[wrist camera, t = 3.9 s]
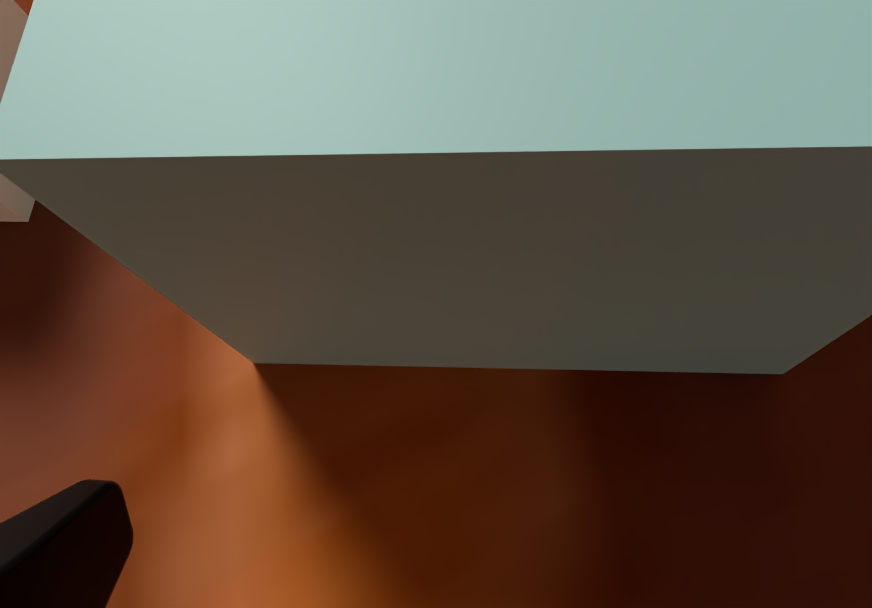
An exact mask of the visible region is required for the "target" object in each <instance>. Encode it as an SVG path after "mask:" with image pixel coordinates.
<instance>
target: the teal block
mask: <svg viewBox="0 0 872 608" xmlns="http://www.w3.org/2000/svg"><path fill="white" fill-rule="evenodd" d="M0 173H1V174H2V175H3V176H5V177H6V178H7V179H9V180H10V181H11V182H13V183H14V184H15V185H17V186H18V187H19V188H21V189H22V190H23V191H25V192H26V193H27V194H29V195H30V196H31V197H33V198H34V199H35V200H37V201H38V202H39V203H41V204H42V205H43V206H45V207H46V208H47V209H49V210H50V211H51V212H53V213H54V214H55V215H57V216H58V217H59V218H61V219H62V220H63V221H65V222H66V223H67V224H69V225H70V226H71V227H73V228H74V229H75V230H77V231H78V232H79V233H81V234H82V235H83V236H85V237H86V238H87V239H89V240H90V241H91V242H93V243H94V244H95V245H97V246H98V247H99V248H101V249H102V250H103V251H105V252H106V253H107V254H109V255H110V256H111V257H113V258H114V259H115V260H117V261H118V262H119V263H121V264H122V265H123V266H125V267H126V268H127V269H129V270H130V271H131V272H133V273H134V274H135V275H137V276H138V277H139V278H141V279H142V280H143V281H145V282H146V283H147V284H149V285H150V286H151V287H153V288H154V289H155V290H157V291H158V292H159V293H161V294H162V295H163V296H165V297H166V298H167V299H169V300H170V301H171V302H173V303H174V304H175V305H177V306H178V307H179V308H181V309H182V310H183V311H185V312H186V313H187V314H189V315H190V316H191V317H193V318H194V319H195V320H197V321H198V322H199V323H201V324H202V325H203V326H205V327H206V328H207V329H209V330H210V331H211V332H213V333H214V334H215V335H217V336H218V337H219V338H221V339H222V340H223V341H225V342H226V343H227V344H229V345H230V346H231V347H233V348H234V349H235V350H237V351H238V352H239V353H241V354H242V355H243V356H245V357H246V358H247V359H249V360H250V361H251V362H253V363H271V364H319V365H366V366H414V367H461V368H508V369H556V370H603V371H651V372H698V373H746V374H784V373H785V372H787V371H788V370H790V369H791V368H793V367H794V366H796V365H797V364H799V363H800V362H802V361H803V360H805V359H806V358H808V357H809V356H811V355H812V354H814V353H815V352H817V351H818V350H820V349H821V348H823V347H824V346H826V345H827V344H829V343H830V342H832V341H833V340H835V339H836V338H838V337H839V336H841V335H842V334H844V333H845V332H847V331H848V330H850V329H851V328H853V327H854V326H856V325H857V324H859V323H860V322H862V321H863V320H865V319H866V318H868V317H869V316H871V315H872V0H34V1H33V4H32V8H31V11H30V14H29V17H28V20H27V23H26V26H25V29H24V32H23V35H22V38H21V41H20V45H19V48H18V51H17V54H16V57H15V60H14V63H13V66H12V69H11V72H10V75H9V79H8V82H7V85H6V88H5V91H4V94H3V97H2V100H1V103H0Z"/></svg>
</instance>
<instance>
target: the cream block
mask: <svg viewBox="0 0 872 608" xmlns="http://www.w3.org/2000/svg"><path fill="white" fill-rule="evenodd" d="M27 20H28V16H27V15H26V13H25V12H24V11H23V10H22V9H21V8H20V7H19V6H18V4H17V3H16V2H15V1H14V0H0V103H1V100H2V97H3V94H4V91H5V88H6V85H7V82H8V79H9V75H10V72H11V69H12V66H13V63H14V60H15V57H16V54H17V51H18V48H19V45H20V41H21V38H22V35H23V32H24V29H25V26H26V23H27ZM34 202H35V199H34V198H33V197H31V196H30V195H29V194H27V193H26V192H25V191H23V190H22V189H21V188H19V187H18V186H17V185H15V184H14V183H13V182H11V181H10V180H9V179H7V178H6V177H5V176H3V175H2V174H1V173H0V221H7V222H28V221H29V218H30V215H31V212H32V208H33V205H34Z"/></svg>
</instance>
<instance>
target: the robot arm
mask: <svg viewBox="0 0 872 608" xmlns="http://www.w3.org/2000/svg"><path fill="white" fill-rule="evenodd" d="M132 544H133V528H132V525H131V521H130V517H129V514H128V510H127V506H126V502H125V499H124V495H123V491H122V489H121V487H120V486H119V485H118V484H117V483H116V482H113V481H105V480H91V479H89V480H83V481H80V482H78V483H76V484H74V485H72V486H70V487H68V488H66V489H65V490H63V491H61V492H59V493H57V494H55V495H53V496H51V497H49V498H48V499H46V500H44V501H42V502H40V503H38V504H36V505H34V506H32V507H31V508H29V509H27V510H25V511H23V512H21V513H19V514H17V515H15V516H14V517H12V518H10V519H8V520H6V521H4V522H2V523H0V608H106V606H107V603H108V601H109V599H110V597H111V594H112V592H113V590H114V588H115V585H116V583H117V581H118V579H119V576H120V574H121V572H122V570H123V567H124V565H125V563H126V561H127V559H128V556H129V554H130V551H131V548H132Z"/></svg>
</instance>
